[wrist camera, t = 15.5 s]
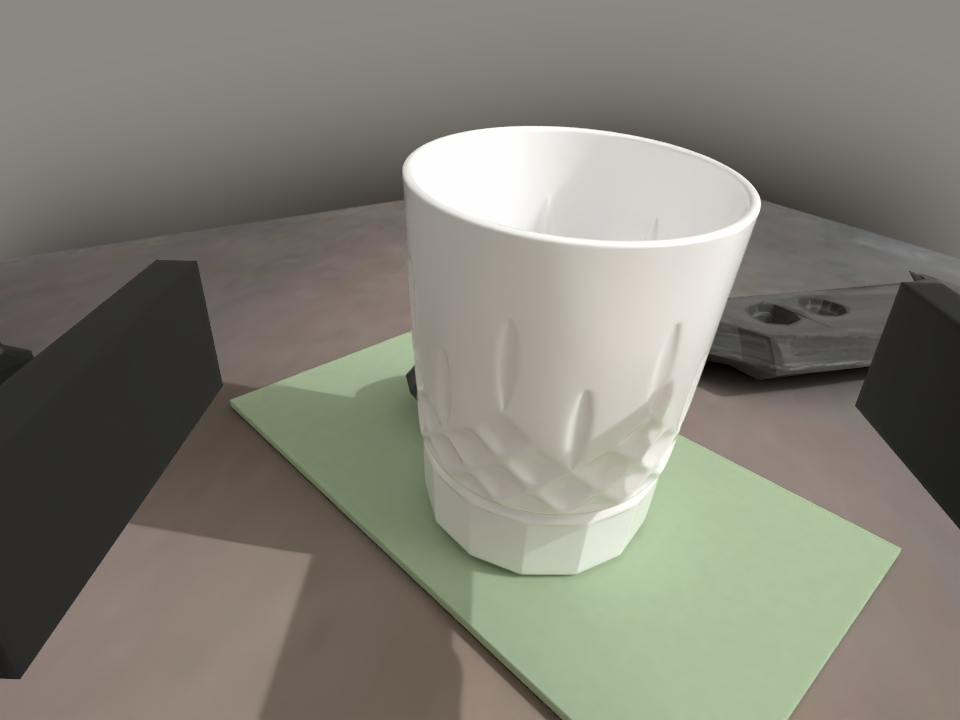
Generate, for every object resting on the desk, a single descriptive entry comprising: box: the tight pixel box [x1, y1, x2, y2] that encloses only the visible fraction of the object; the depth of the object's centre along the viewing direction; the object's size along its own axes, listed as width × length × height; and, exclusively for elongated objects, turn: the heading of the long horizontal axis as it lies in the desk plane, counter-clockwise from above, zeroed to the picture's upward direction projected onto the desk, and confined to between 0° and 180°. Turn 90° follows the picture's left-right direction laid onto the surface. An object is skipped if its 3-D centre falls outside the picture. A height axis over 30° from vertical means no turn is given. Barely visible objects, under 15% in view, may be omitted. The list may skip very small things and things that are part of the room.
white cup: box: [402, 126, 761, 575], centre depth 17 cm, size 8×8×10 cm
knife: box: [406, 271, 960, 400], centre depth 29 cm, size 9×2×30 cm
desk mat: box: [230, 331, 901, 720], centre depth 22 cm, size 20×11×1 cm, turn 43°
